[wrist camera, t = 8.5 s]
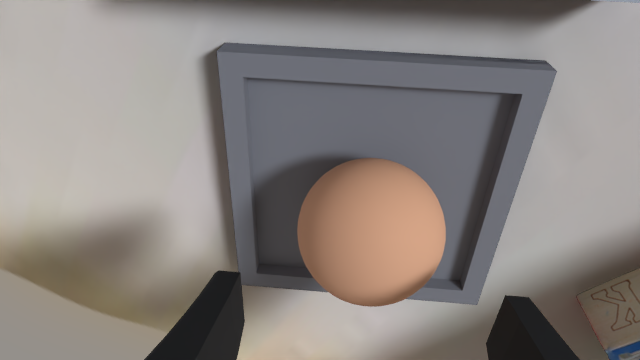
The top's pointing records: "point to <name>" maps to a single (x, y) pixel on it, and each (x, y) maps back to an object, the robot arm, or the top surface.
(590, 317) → the stack of blocks
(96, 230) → the top surface
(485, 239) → the tray
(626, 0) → the low wall
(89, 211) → the top surface
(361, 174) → the ball
